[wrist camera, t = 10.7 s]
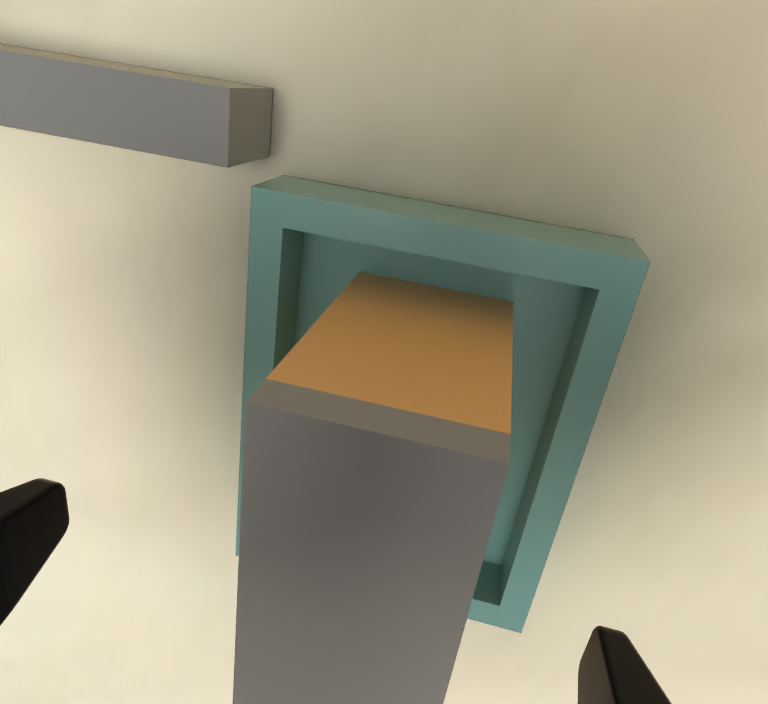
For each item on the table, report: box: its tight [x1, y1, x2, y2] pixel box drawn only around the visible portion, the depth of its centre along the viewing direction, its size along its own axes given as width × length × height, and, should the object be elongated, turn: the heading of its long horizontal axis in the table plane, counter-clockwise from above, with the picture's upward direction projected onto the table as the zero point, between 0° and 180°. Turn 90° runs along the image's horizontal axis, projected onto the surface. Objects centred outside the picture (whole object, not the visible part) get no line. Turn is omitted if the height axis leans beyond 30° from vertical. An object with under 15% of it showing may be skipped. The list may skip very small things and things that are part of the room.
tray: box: [236, 175, 650, 633], centre depth 20 cm, size 11×14×2 cm
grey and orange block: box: [233, 271, 513, 704], centre depth 17 cm, size 5×9×9 cm, turn 172°
